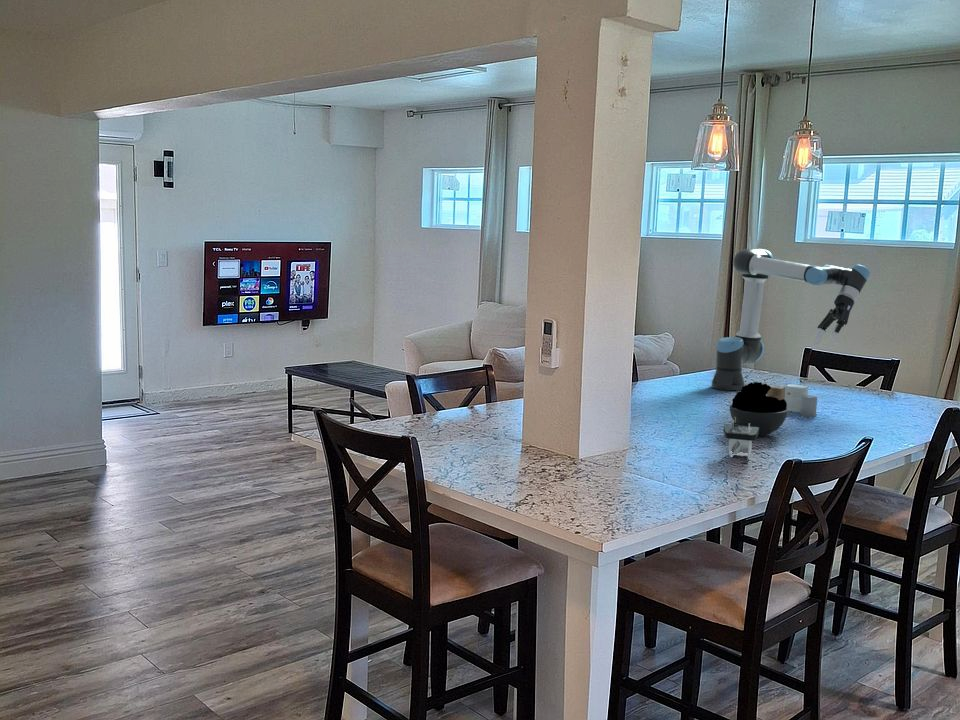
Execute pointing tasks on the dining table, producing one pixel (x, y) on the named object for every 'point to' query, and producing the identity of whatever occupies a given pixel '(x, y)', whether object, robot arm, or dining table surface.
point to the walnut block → (777, 392)
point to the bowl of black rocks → (758, 408)
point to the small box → (794, 396)
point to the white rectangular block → (808, 406)
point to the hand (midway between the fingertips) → (823, 340)
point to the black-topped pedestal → (740, 437)
